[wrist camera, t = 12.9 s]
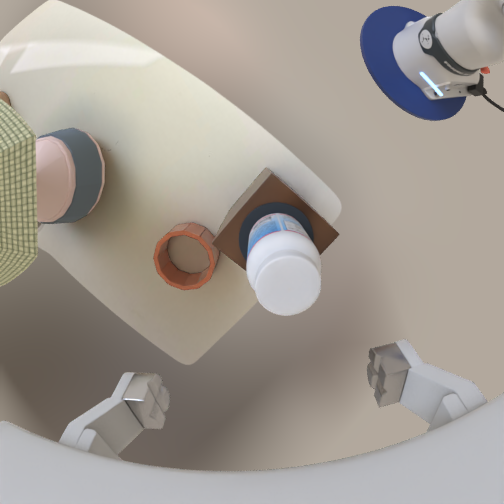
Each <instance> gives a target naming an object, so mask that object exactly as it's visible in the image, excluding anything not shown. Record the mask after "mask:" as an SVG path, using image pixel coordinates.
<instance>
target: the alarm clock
mask: <svg viewBox="0 0 504 504" xmlns="http://www.w3.org/2000/svg"><path fill="white" fill-rule="evenodd" d="M0 99H2V100H3V101H4V102H6V103H7V104H8V105H9V106H10V101H9V98H8V96H7V94H5V93H4V92H0Z"/></svg>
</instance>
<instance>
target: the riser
mask: <svg viewBox="0 0 504 504" xmlns="http://www.w3.org/2000/svg"><path fill="white" fill-rule="evenodd" d="M272 202H281V203H286V204H290V205H292V206H294V207H296V208H298V209H299V210H300V211H301V212H302V213H303V214H304V215H305V216H306V217H307V219H308V220H309V222H310V224H311V226H312V230H313V235H314V242H313V244H314V245H315V247H316V248H317V250H318V252H319V255H321V254H322V253H323V251H324V250H325V249H326V248H327V247H328V246H329V245H330V244H331V243H332V242H333V241H334V240H335V239H336V238H337V236H338V235H339V233H338V232H337V231H336V230H335V229H334V228H333V227H332V226H331V225H330V224H329V223H328V222H327V221H326V220H325V219H324V218H323V217H322V216H321V215H320V214H318V213H317V212H316V211H315V210H314V209H313V208H312V207H311V206H310V205H309V204H308V203H307V202H306V201H305V200H304V199H302V198H301V197H300V196H299V195H298V194H297V193H296V192H295V191H293V190H292V189H291V188H290V187H289V186H288V185H287V184H285V183H284V182H283V181H282V180H281V179H280V178H279V177H277V176H276V175H275V174H274V173H273V172H272V171H270V170H269V169H268V168H267V167H266V168H265V169H264V170H263V171H262V172H261V174H260V175H259V176H258V177H257V178H256V179H255V180H254V182H253V183H252V184H251V185H250V186H249V187H248V189H247V190H246V191H245V192H244V193H243V194H242V196H241V197H240V198H239V199H238V200H237V202H236V203H235V204H234V205H233V206H232V207H231V209H230V210H229V212H228V213H227V215H226V217H225V219H224V221H223V223H222V225H221V226H220V228H219V230H218V232H217V234H216V236H215V238H214V240H213V242H212V245H214V246H215V247H216V248H217V249H219V250H220V251H221V252H222V253H224V254H225V255H226V256H228V257H229V258H230V259H231V260H233V261H234V262H235V263H236V264H238V265H239V266H240V267H242V268H243V269H244V270H245V271H246V264H247V261H246V260H245V259H244V257H243V255H242V253H241V251H240V247H239V232H240V228H241V225H242V223H243V221H244V219H245V218H246V217H247V215H248V214H249V213H250V212H251V211H253V210H254V209H255V208H257V207H259V206H261V205H263V204H267V203H272Z"/></svg>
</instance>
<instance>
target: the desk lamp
mask: <svg viewBox="0 0 504 504" xmlns="http://www.w3.org/2000/svg"><path fill="white" fill-rule="evenodd" d="M104 183H105V162H104V159H103V156H102V153H101V150H100V147H99V145H98V144H97V142H96V141H95V140H94V139H93V138H92V136H91V135H90V134H89V133H86V132H84V131H81V130H79V129H75V128H69V129H64V130H59V131H56V132H52V133H49V134H46V135H43V136H40V137H39V138H37V139H36V135H35V134H34V132H33V131H32V130H31V128H30V127H29V126H28V125H27V123H26V122H25V121H24V119H23V118H22V117H21V116H20V115H19V114H18V113H17V112H16V111H15V110H14V109H13V108H12V107H11V106H9V105H8V104H7V103H6V102H4V101H3V100H2V99H0V286H3V285H5V284H7V283H8V282H10V281H11V280H13V279H14V278H16V277H17V276H18V275H20V274H21V273H22V272H23V271H24V270H26V269H27V268H28V267H29V266H30V264H31V263H32V262H33V261H34V260H35V259H36V257H37V256H38V247H37V221H39V222H41V223H44V224H57V223H69V222H75V221H77V220H79V219H81V218H83V217H84V216H86V215H87V214H89V213H90V212H91V211H92V209H93V208H94V207H95V205H96V204H97V203H98V201H99V199H100V196H101V193H102V189H103V186H104Z"/></svg>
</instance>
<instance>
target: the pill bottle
mask: <svg viewBox="0 0 504 504" xmlns="http://www.w3.org/2000/svg"><path fill="white" fill-rule="evenodd" d="M321 265H322V264H321V258H320V255H319V252H318V250H317V248H316V247H315V245H314V244H313V242H312V241H311V239H310V238H309V236H308V234H307V233H306V232H305V230H304V228H303V227H302V225H301V224H300V223H299V222H298V221H297V220H296V219H294V218H293V217H291V216H289V215H286V214H281V213H274V214H269V215H266V216H264V217H263V218H261V219H260V220H258V221H257V222H256V223H255V225H254V226H253V228H252V229H251V232H250V235H249V241H248V253H247V264H246V271H247V277H248V281H249V283H250V285H251V287H252V288H253V290H254V291H255V292H256V296H257V298H258V300H259V302H260V303H261V305H262V306H263V307H264V308H266V309H267V310H268V311H270V312H272V313H274V314H278V315H285V316H289V315H295V314H298V313H301V312H303V311H305V310H307V309H308V308H309V307H310V306H311V305H313V303H314V302H315V301H316V300H317V298H318V296H319V294H320V291H321V270H322V266H321Z"/></svg>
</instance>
